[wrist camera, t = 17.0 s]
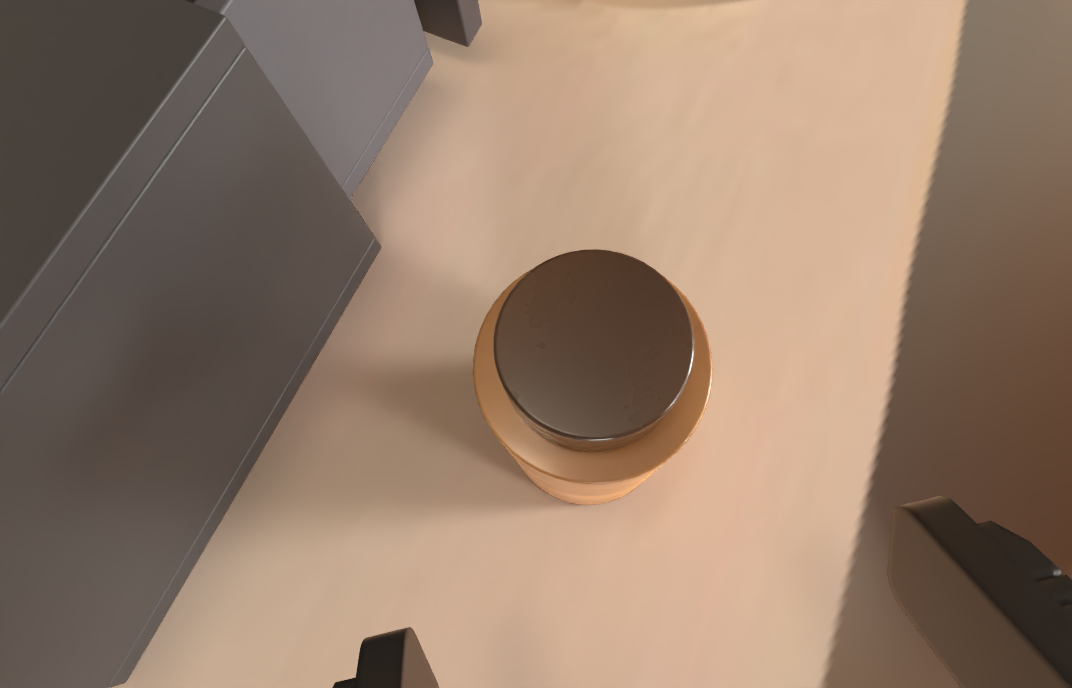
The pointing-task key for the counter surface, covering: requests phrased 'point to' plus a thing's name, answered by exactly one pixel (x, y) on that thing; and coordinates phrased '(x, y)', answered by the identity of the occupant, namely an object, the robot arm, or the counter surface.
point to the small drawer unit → (143, 312)
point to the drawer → (347, 65)
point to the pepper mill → (592, 373)
